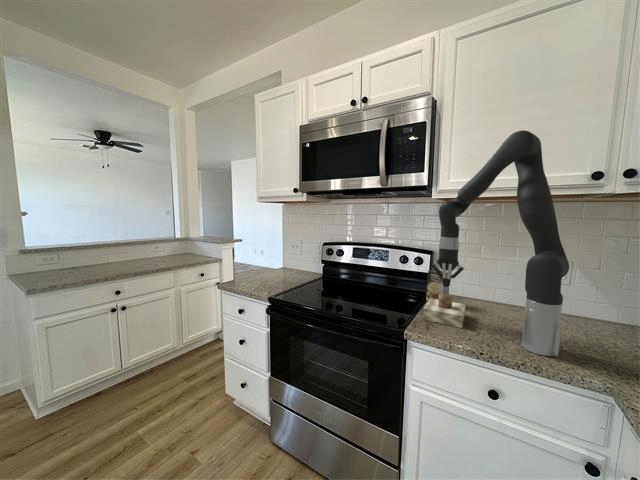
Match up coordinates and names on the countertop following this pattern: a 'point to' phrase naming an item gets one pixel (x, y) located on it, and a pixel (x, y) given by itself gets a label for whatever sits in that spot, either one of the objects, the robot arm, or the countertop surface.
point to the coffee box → (435, 285)
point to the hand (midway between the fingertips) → (446, 286)
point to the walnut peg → (445, 301)
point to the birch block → (444, 313)
